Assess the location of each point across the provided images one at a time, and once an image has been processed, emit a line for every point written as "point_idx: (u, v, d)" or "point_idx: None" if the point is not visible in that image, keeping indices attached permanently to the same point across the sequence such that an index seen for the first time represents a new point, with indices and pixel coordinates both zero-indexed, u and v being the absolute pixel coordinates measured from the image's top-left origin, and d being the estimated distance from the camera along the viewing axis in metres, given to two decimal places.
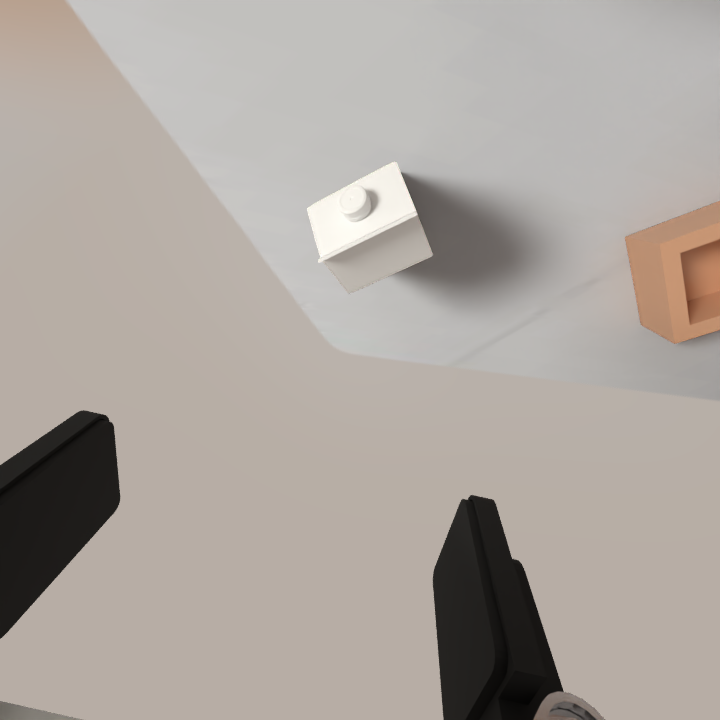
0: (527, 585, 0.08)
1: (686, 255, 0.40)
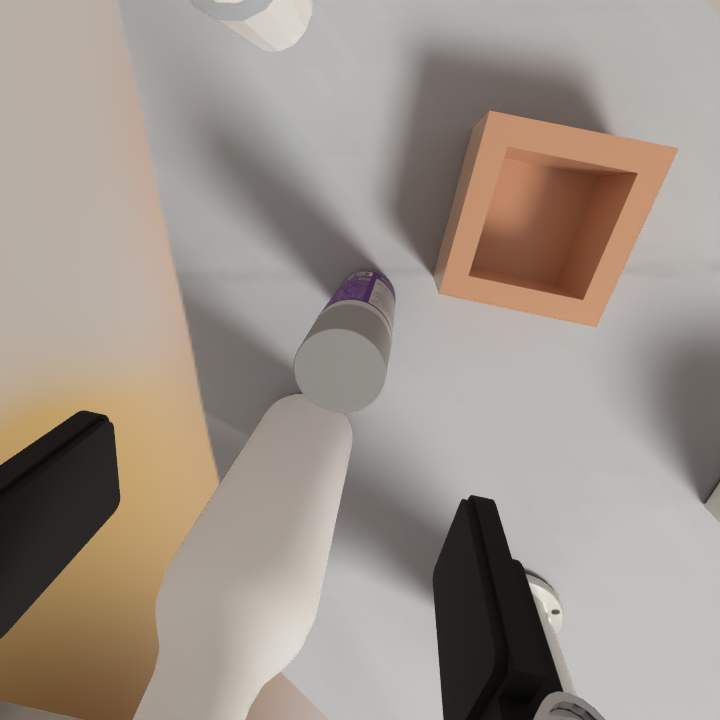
0: (527, 585, 0.08)
1: (524, 242, 0.28)
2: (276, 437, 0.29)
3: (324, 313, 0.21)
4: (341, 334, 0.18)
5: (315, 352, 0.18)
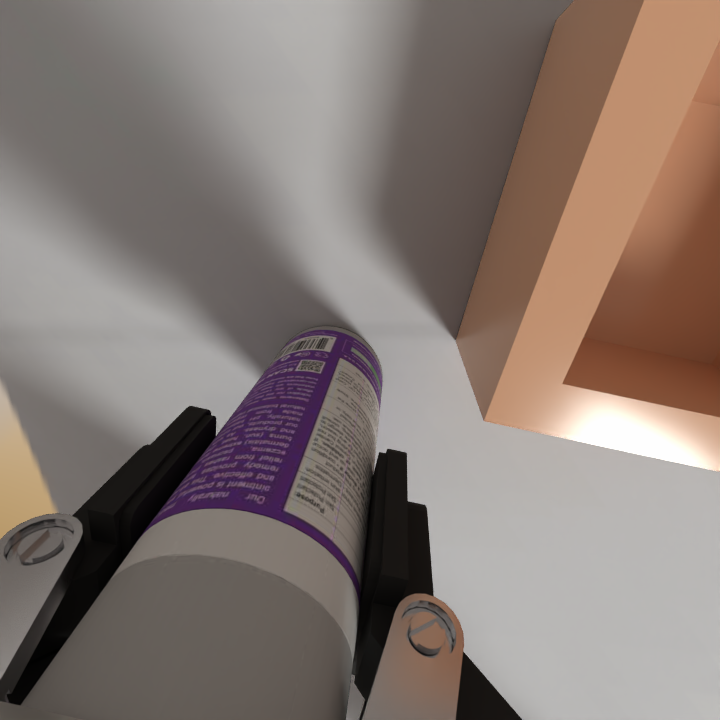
0: (426, 523, 0.09)
1: (656, 280, 0.13)
2: None
3: (108, 596, 0.06)
4: None
5: None
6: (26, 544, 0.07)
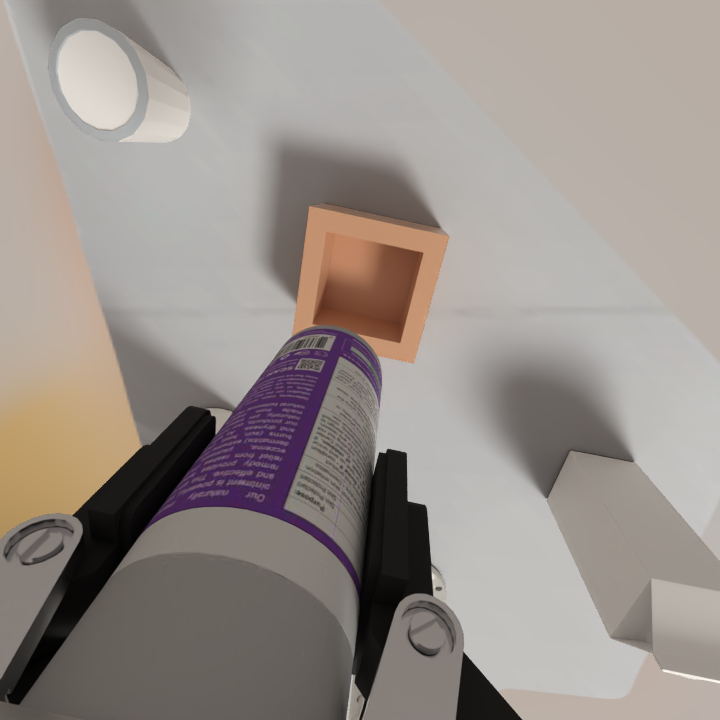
0: (426, 523, 0.09)
1: (372, 291, 0.35)
2: None
3: (107, 595, 0.06)
4: None
5: None
6: (26, 544, 0.07)
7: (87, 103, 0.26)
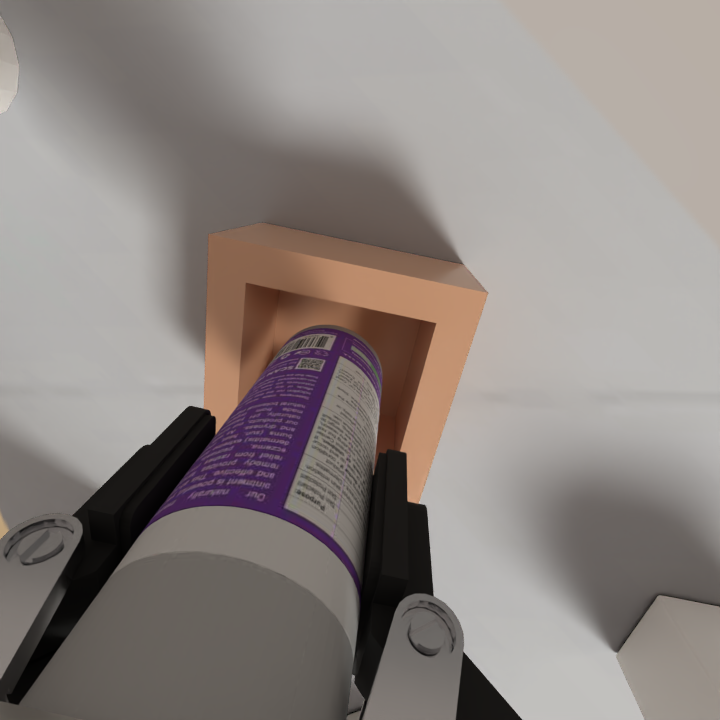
0: (426, 523, 0.09)
1: None
2: None
3: (107, 594, 0.06)
4: None
5: None
6: (26, 544, 0.07)
7: None
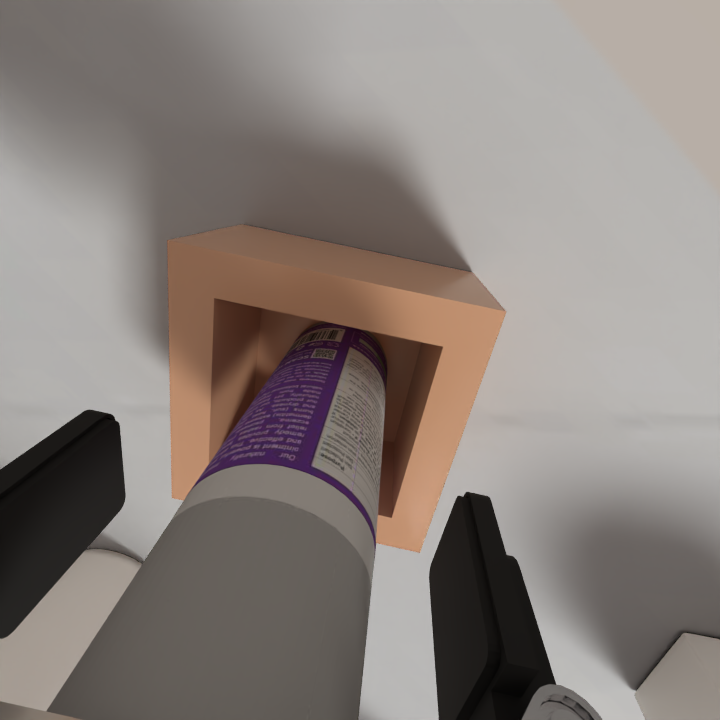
0: (521, 581, 0.09)
1: None
2: None
3: (174, 529, 0.07)
4: None
5: None
6: None
7: None
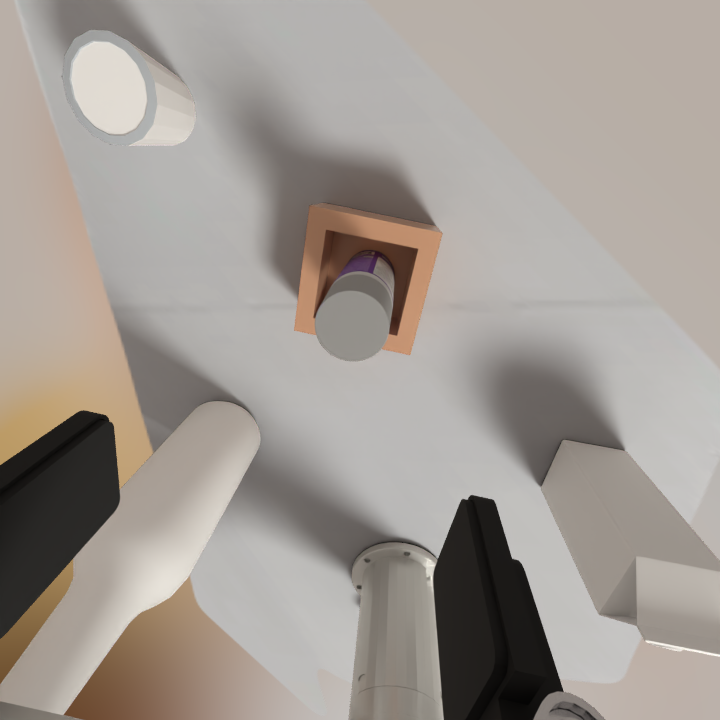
0: (527, 585, 0.08)
1: None
2: (183, 437, 0.38)
3: (337, 282, 0.25)
4: (353, 295, 0.22)
5: (332, 310, 0.23)
6: None
7: (99, 110, 0.28)
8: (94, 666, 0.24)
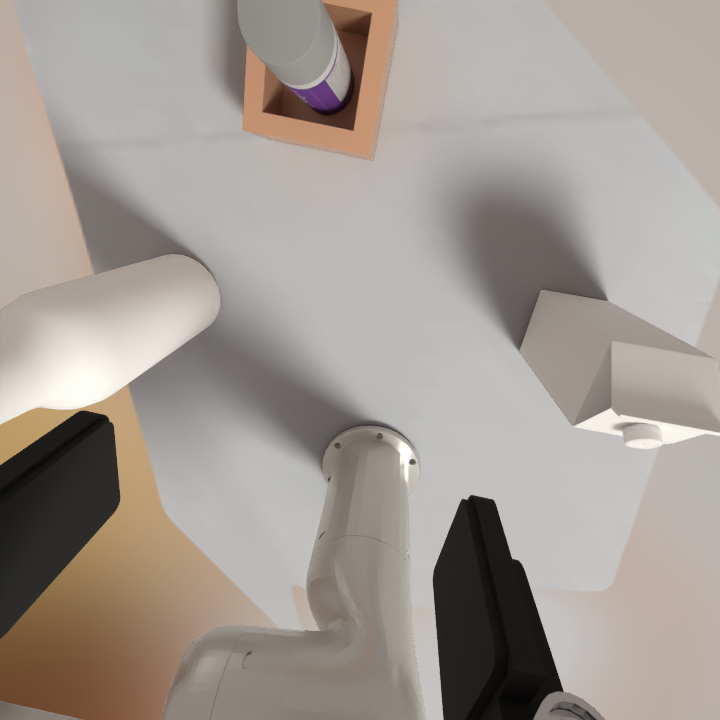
0: (527, 585, 0.08)
1: None
2: (128, 266, 0.35)
3: None
4: None
5: None
6: None
7: None
8: None
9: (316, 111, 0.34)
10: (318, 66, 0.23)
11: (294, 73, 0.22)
